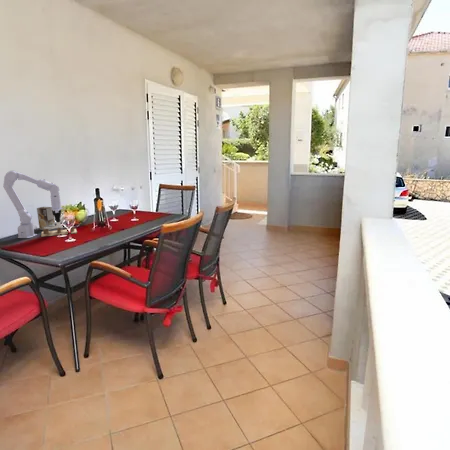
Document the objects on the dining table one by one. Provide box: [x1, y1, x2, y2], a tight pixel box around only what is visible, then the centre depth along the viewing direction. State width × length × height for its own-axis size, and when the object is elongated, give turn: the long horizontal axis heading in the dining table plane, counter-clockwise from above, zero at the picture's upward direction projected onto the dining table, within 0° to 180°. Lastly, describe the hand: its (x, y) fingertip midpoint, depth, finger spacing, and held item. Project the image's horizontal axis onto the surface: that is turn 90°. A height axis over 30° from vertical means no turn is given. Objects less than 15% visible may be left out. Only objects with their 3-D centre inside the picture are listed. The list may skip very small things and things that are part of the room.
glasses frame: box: [44, 221, 65, 230], centre depth 236 cm, size 18×4×6 cm, turn 116°
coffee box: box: [36, 206, 56, 231], centre depth 248 cm, size 9×6×16 cm
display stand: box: [40, 225, 78, 237], centre depth 237 cm, size 22×10×4 cm, turn 116°
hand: (58, 221), depth 235 cm, fingers open, 4 cm apart
